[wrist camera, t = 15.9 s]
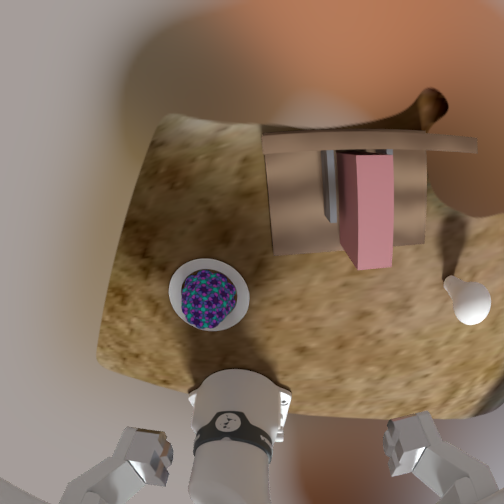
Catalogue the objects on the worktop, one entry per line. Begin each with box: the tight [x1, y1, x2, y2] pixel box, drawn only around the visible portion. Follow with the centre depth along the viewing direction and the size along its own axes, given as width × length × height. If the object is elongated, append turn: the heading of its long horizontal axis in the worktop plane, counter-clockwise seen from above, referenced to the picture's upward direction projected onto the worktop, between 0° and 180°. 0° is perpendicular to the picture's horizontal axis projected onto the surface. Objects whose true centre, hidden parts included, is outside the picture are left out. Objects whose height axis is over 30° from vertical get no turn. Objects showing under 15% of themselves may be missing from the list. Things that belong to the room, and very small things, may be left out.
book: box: [336, 152, 394, 270], centre depth 34 cm, size 12×4×9 cm, turn 6°
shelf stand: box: [261, 129, 477, 256], centre depth 32 cm, size 16×22×13 cm
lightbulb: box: [444, 275, 491, 325], centre depth 37 cm, size 6×6×11 cm
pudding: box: [169, 259, 250, 331], centre depth 43 cm, size 12×12×5 cm
